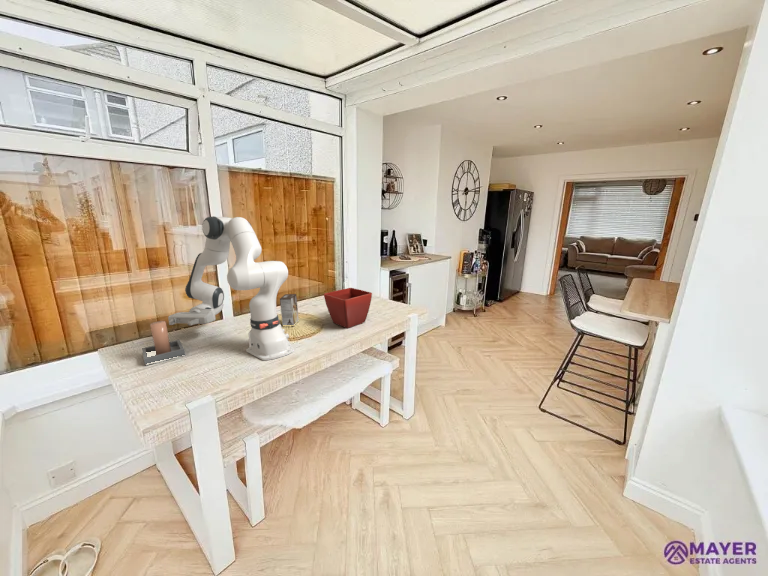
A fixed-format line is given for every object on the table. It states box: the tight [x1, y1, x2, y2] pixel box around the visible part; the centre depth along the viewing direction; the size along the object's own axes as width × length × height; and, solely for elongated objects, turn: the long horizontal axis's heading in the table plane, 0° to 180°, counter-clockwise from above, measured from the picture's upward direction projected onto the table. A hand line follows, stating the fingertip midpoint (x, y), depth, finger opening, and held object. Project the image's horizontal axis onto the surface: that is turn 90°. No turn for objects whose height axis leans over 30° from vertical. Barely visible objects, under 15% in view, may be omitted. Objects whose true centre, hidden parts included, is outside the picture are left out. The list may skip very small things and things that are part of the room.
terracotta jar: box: [149, 320, 171, 355], centre depth 138 cm, size 6×6×14 cm
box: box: [141, 339, 186, 365], centre depth 139 cm, size 14×14×3 cm
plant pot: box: [323, 287, 373, 329], centre depth 172 cm, size 19×19×17 cm
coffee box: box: [279, 293, 300, 326], centre depth 172 cm, size 9×6×16 cm
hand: (179, 323), depth 149 cm, fingers open, 8 cm apart
